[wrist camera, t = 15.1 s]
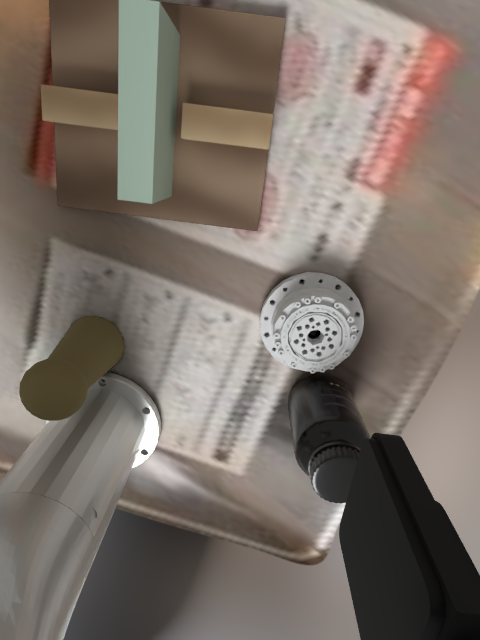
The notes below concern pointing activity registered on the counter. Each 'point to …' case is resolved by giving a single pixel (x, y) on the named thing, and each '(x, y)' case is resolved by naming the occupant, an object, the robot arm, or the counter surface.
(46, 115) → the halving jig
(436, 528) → the robot arm
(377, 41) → the counter surface
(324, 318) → the mechanical component
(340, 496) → the supplement bottle
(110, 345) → the cork
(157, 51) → the sage plate
